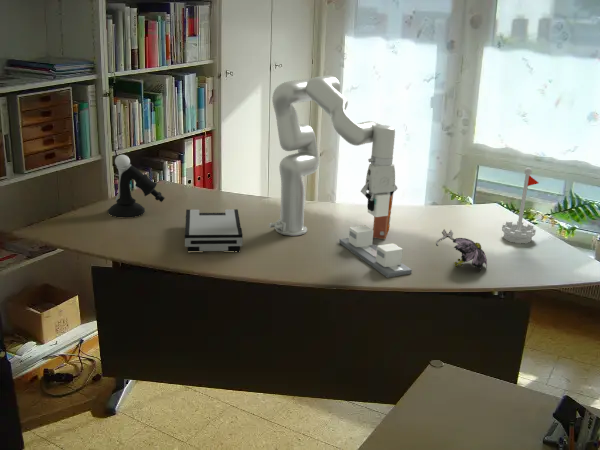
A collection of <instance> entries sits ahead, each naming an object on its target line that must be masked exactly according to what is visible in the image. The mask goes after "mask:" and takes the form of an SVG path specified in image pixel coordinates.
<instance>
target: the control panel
mask: <svg viewBox="0 0 600 450" xmlns="http://www.w3.org/2000/svg"><path fill="white" fill-rule="evenodd" d="M393 198H394V193H393V194H392V195H391V198H390V199H389V209H388V216H382V217H375V216H373V226H372V227H373V228H372V230H373V239H381V240H387V236H388V232H389V231H390V226H391V214H392V208H393Z"/></svg>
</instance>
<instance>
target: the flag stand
mask: <svg viewBox="0 0 600 450" xmlns="http://www.w3.org/2000/svg"><path fill="white" fill-rule="evenodd" d="M523 171H524V172H523V173H524V175H525V177H524V183H523V187H522V196H521V203H520V206H519V207H520V209H519V212H518V213H519V214H518V219H517V221H516V223H513V221H512V220H509V221H506V222H505V223H504V222H503V223H502V226H501V231H502V232H503V239H504V240H506V241H508V242H510V243H514V242H515V243H514V244H521V243H525V244H529V243H528V242H530V241H531V242H532V239H533V237H534V236H535V235H536V231H537V227H534V225H533V224H531V223H527V225H526V224H524V222H523V218H524V211H525V205H526V199H527V194H528V187H529V186H534V185H537V184H539V181H537V180H536V179H535V178H533V177H532V176H531V175H532V173H533V169H532V168H531V167H526V168H524V170H523ZM531 242H530V243H531Z"/></svg>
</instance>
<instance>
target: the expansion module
mask: <svg viewBox="0 0 600 450" xmlns="http://www.w3.org/2000/svg"><path fill="white" fill-rule="evenodd" d="M389 198H390V194H388V193H377V194H375V196H374V199H373V200H374V211H370V210H369V209H368V208H367V213H368V214H370V215H372V216H373V217H374V216H375V217H382V216H388V209H389Z"/></svg>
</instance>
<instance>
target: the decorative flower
mask: <svg viewBox="0 0 600 450" xmlns="http://www.w3.org/2000/svg"><path fill="white" fill-rule="evenodd" d="M452 243H453V244H456V245H455V246H454V247H453V249H455V250H456V251H458V252H459V253H461V256H460V258H457V261H455V262H453V264H454V267H455V268H458V267H463V263H467V262H469V261H471V260H472V263H471V266H473V267H475V269H478V268H479V272H480V273H481V270H482V267H483V265H485V267H486V270H487V268H488V267H487V266H488V259H487V255H486V253H485V251H484V250H483V249H482V245H481V243H479V242H475V241H473V240H472V239H469V238H466V237H456V238H454V239H453V240H452ZM458 243H460V244H458ZM458 265H459V266H458Z"/></svg>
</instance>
